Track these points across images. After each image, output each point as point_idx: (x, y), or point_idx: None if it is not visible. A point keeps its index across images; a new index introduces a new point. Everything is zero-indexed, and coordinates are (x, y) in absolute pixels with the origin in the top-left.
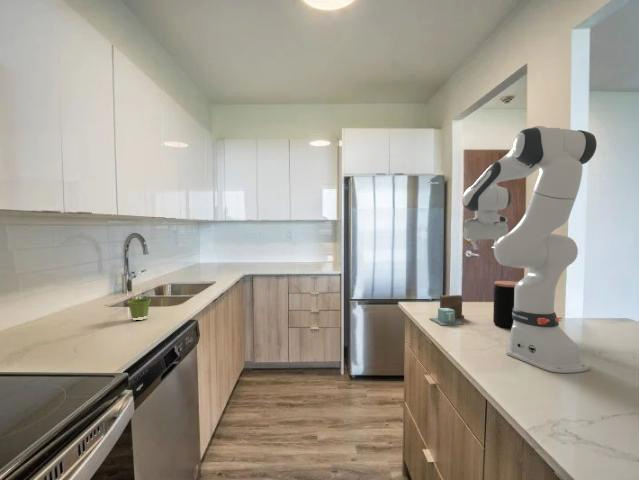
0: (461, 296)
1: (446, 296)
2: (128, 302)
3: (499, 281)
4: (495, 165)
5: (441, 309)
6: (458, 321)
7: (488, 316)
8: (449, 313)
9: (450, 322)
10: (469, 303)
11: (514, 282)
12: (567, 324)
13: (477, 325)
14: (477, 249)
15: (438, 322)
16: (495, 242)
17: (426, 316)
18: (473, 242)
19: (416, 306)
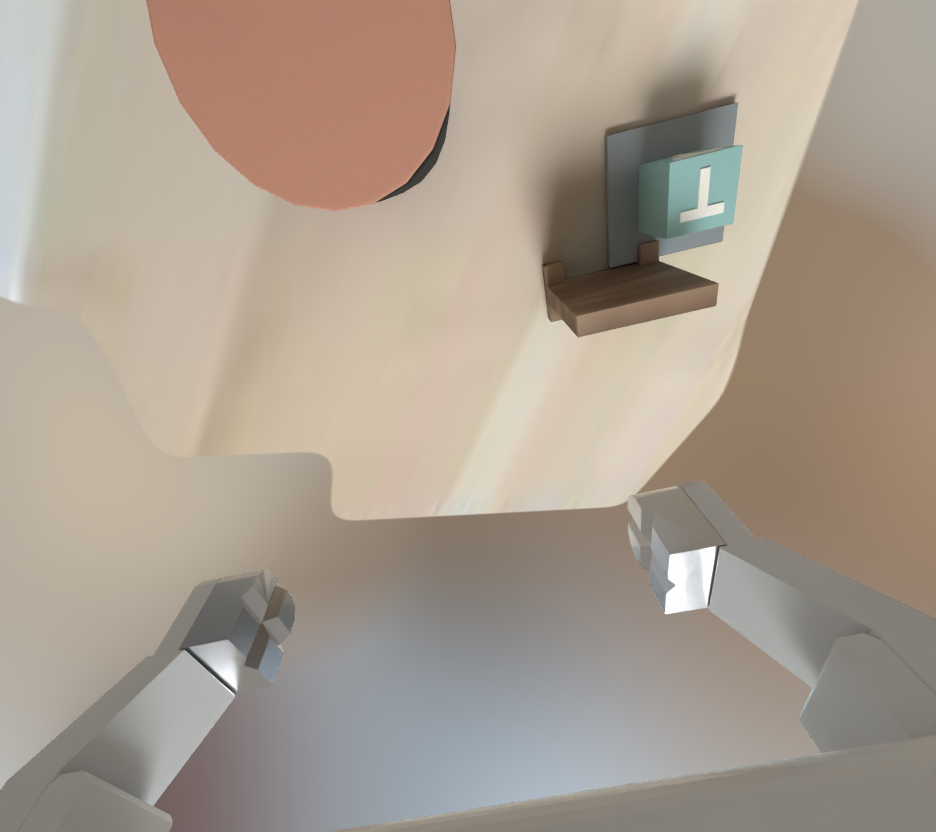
0: (579, 313)
1: (686, 290)
2: None
3: (374, 156)
4: None
5: (733, 189)
6: (614, 177)
7: (407, 304)
8: (698, 153)
9: (666, 153)
10: (407, 509)
11: (229, 71)
12: (24, 145)
13: (539, 116)
14: (642, 494)
15: None
16: (156, 765)
17: None
18: (893, 614)
19: (651, 455)
